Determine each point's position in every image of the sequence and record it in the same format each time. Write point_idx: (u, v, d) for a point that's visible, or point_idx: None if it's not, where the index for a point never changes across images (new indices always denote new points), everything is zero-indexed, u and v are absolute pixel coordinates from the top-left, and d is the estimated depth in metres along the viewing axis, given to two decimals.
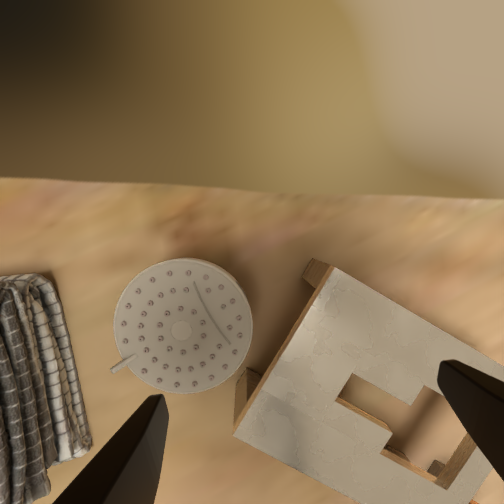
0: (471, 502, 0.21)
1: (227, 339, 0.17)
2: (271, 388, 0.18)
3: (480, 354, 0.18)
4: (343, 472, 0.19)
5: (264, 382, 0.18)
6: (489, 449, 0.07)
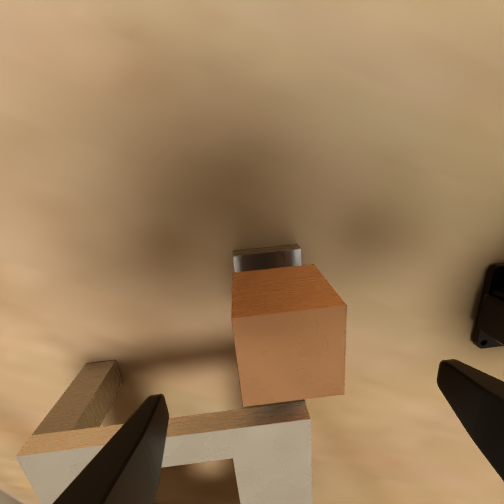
0: None
1: None
2: None
3: None
4: None
5: None
6: (489, 449, 0.07)
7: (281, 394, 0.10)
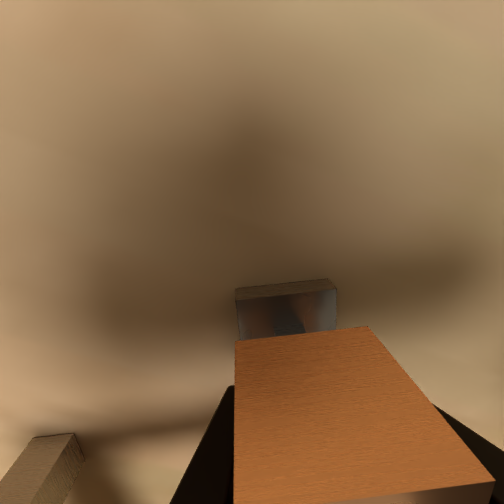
0: None
1: None
2: None
3: None
4: None
5: None
6: None
7: None
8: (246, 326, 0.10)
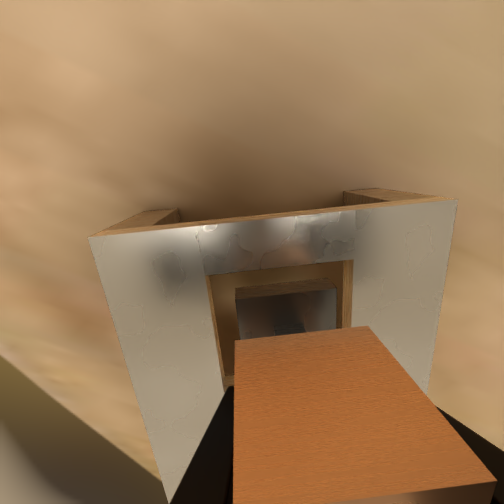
0: None
1: None
2: None
3: (128, 362, 0.11)
4: None
5: None
6: None
7: None
8: (246, 326, 0.10)
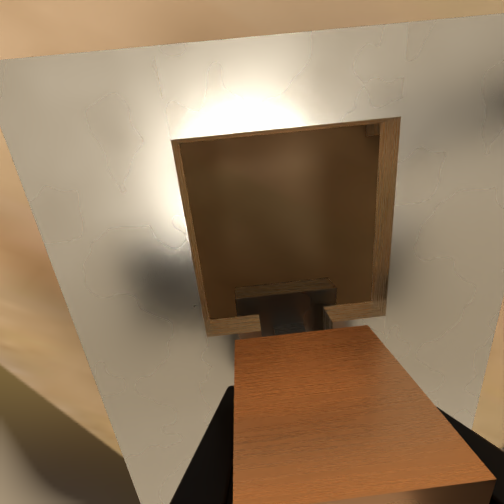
0: None
1: None
2: None
3: (64, 287, 0.08)
4: (452, 345, 0.09)
5: None
6: None
7: None
8: None
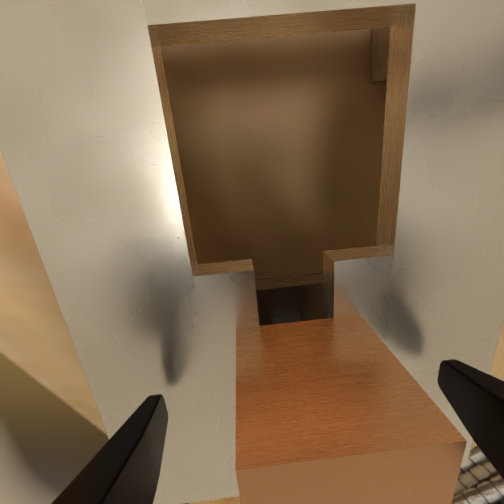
0: None
1: None
2: None
3: (28, 211, 0.07)
4: (467, 292, 0.08)
5: None
6: (490, 449, 0.07)
7: None
8: None
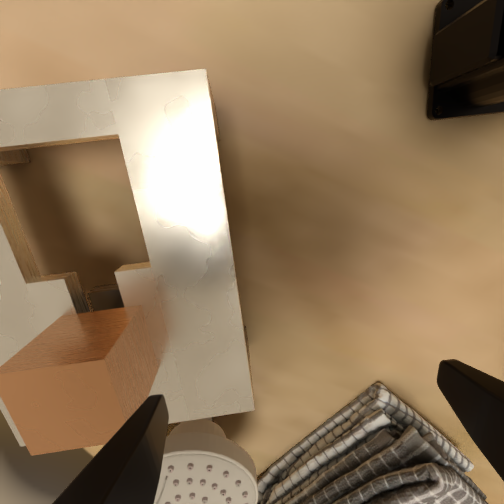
0: None
1: (164, 481, 0.16)
2: (180, 414, 0.15)
3: None
4: (208, 289, 0.13)
5: (180, 421, 0.15)
6: (489, 449, 0.07)
7: (67, 442, 0.10)
8: (99, 311, 0.16)
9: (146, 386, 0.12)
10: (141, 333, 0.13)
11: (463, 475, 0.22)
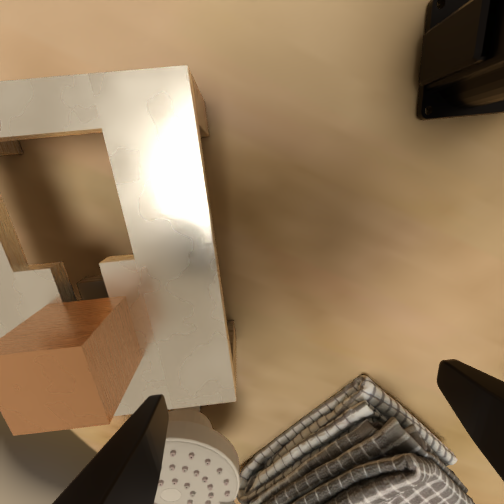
0: None
1: None
2: None
3: None
4: (190, 282, 0.13)
5: None
6: (489, 449, 0.07)
7: (47, 424, 0.11)
8: None
9: (127, 374, 0.13)
10: (124, 323, 0.13)
11: (444, 467, 0.22)
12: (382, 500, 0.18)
